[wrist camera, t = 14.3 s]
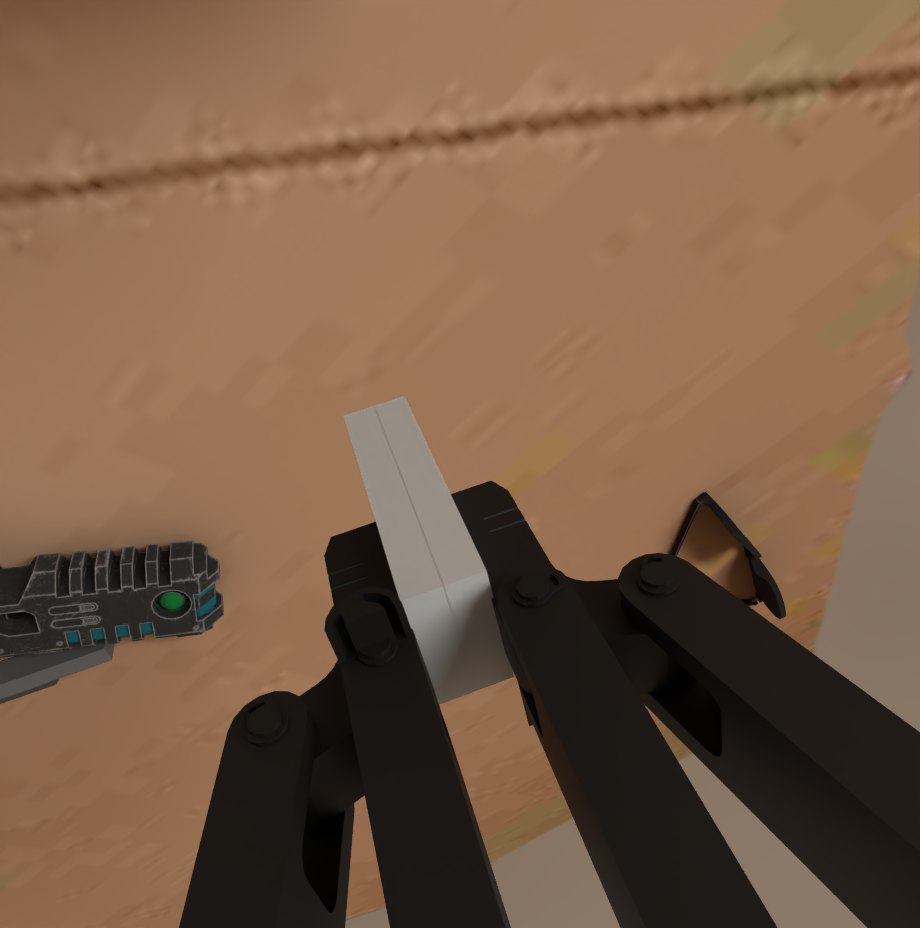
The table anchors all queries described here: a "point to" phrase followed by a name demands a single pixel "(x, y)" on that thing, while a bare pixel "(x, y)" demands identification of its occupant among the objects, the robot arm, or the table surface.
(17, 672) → the dock
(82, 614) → the toy gun
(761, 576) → the sunglasses
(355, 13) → the table surface
